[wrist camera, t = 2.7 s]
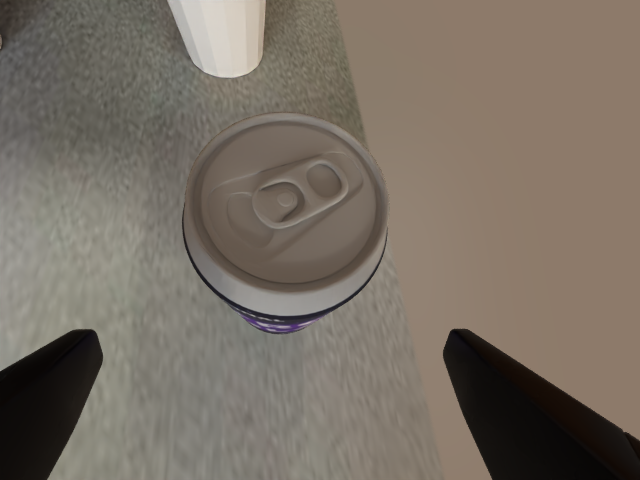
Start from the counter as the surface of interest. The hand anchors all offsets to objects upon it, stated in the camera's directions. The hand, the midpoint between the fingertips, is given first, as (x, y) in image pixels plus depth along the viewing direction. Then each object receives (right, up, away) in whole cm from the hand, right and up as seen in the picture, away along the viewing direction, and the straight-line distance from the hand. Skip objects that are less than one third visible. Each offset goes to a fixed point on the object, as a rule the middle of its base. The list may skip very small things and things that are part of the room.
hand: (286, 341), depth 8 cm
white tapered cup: (-6, +17, +16) cm, 25 cm away
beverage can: (-1, 0, +11) cm, 11 cm away
